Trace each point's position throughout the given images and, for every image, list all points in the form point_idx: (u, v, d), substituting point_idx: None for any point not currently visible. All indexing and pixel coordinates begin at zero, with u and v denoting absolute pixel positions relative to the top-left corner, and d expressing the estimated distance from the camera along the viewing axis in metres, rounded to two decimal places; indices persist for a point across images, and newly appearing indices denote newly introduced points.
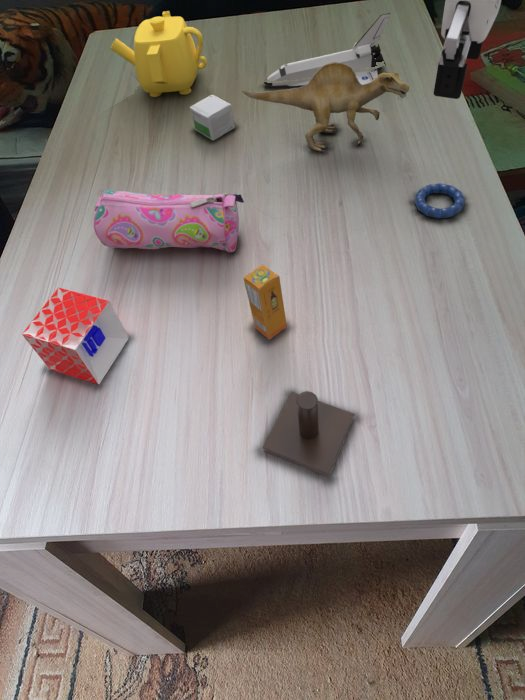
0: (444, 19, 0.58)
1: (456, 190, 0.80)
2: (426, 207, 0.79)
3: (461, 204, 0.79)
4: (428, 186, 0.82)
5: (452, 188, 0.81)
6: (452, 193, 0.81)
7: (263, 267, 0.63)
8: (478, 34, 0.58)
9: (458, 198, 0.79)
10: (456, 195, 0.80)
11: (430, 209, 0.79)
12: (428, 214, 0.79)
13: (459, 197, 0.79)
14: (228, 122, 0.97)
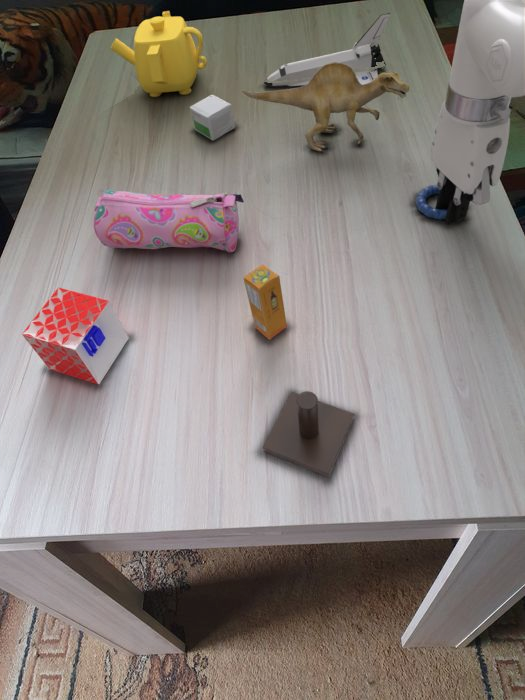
0: (472, 182, 0.68)
1: None
2: (427, 208, 0.79)
3: None
4: (429, 187, 0.81)
5: None
6: None
7: (263, 267, 0.63)
8: (497, 180, 0.70)
9: None
10: None
11: (431, 210, 0.78)
12: (429, 215, 0.79)
13: None
14: (228, 122, 0.97)
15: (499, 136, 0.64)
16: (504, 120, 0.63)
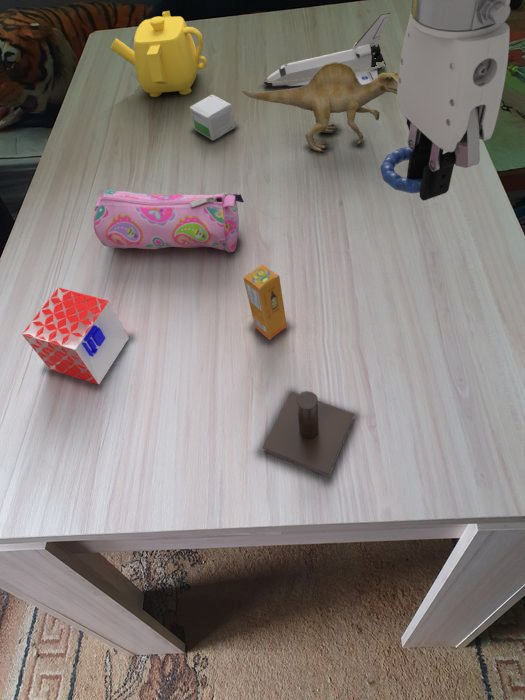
0: (454, 133, 0.46)
1: None
2: (394, 177, 0.56)
3: None
4: (400, 150, 0.59)
5: None
6: None
7: (263, 267, 0.63)
8: (491, 131, 0.47)
9: None
10: None
11: (399, 180, 0.56)
12: (397, 187, 0.56)
13: None
14: (228, 122, 0.97)
15: (493, 56, 0.41)
16: (501, 30, 0.41)
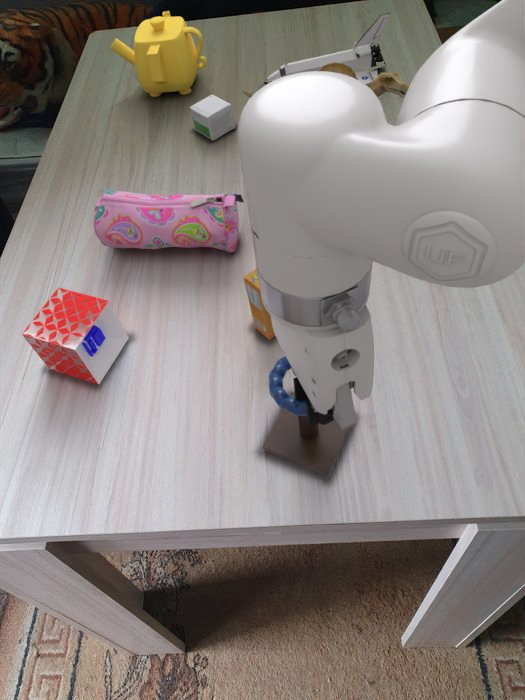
0: (321, 404, 0.39)
1: None
2: (280, 397, 0.50)
3: None
4: None
5: None
6: None
7: None
8: (368, 393, 0.41)
9: None
10: None
11: (285, 401, 0.49)
12: (282, 408, 0.50)
13: None
14: (228, 122, 0.97)
15: (352, 347, 0.35)
16: None
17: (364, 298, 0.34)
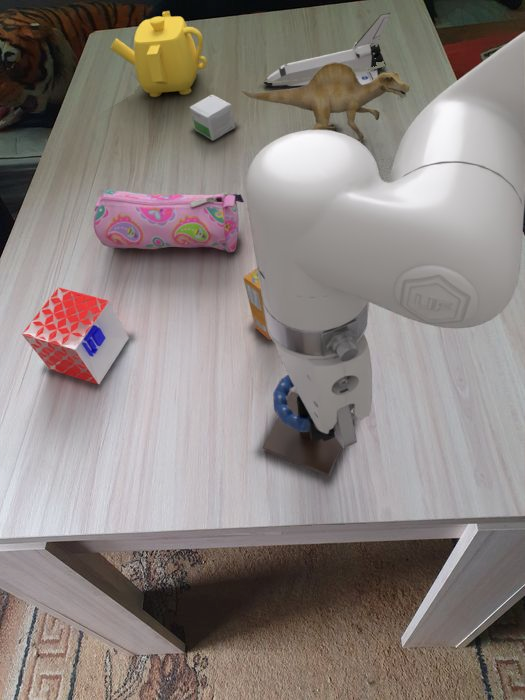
0: (323, 425, 0.42)
1: None
2: (284, 414, 0.52)
3: None
4: None
5: None
6: None
7: None
8: (367, 414, 0.43)
9: None
10: None
11: (289, 418, 0.52)
12: (287, 425, 0.52)
13: None
14: (228, 122, 0.97)
15: (351, 374, 0.38)
16: (357, 350, 0.37)
17: (362, 329, 0.37)
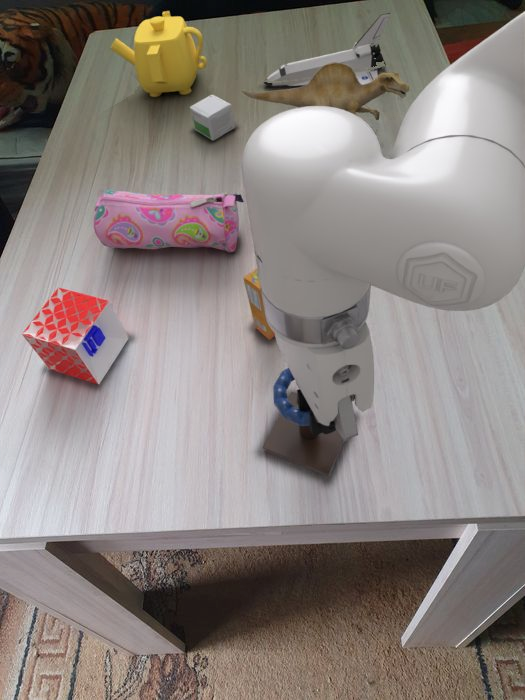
0: (324, 416, 0.41)
1: None
2: (284, 408, 0.51)
3: None
4: None
5: None
6: None
7: None
8: (369, 405, 0.42)
9: None
10: None
11: (289, 412, 0.51)
12: (287, 418, 0.51)
13: None
14: (228, 122, 0.97)
15: (352, 363, 0.36)
16: None
17: (364, 316, 0.36)
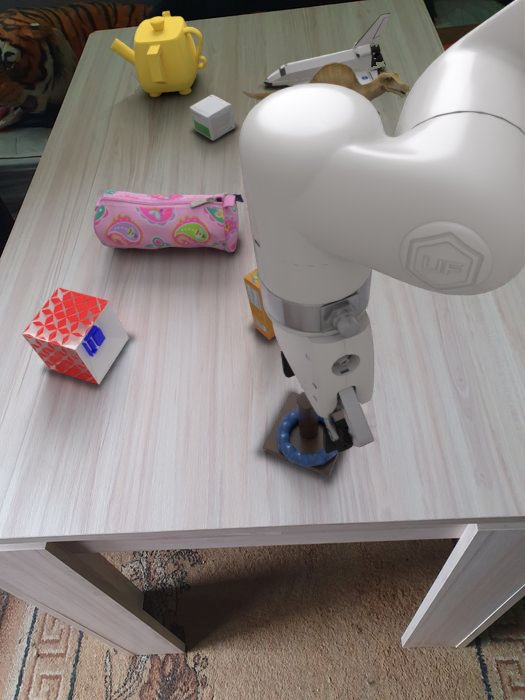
0: (322, 408, 0.40)
1: None
2: (281, 440, 0.58)
3: (324, 457, 0.57)
4: None
5: None
6: None
7: None
8: (369, 397, 0.41)
9: None
10: None
11: (283, 446, 0.58)
12: (280, 450, 0.58)
13: None
14: (228, 122, 0.97)
15: (352, 352, 0.35)
16: None
17: (364, 304, 0.35)
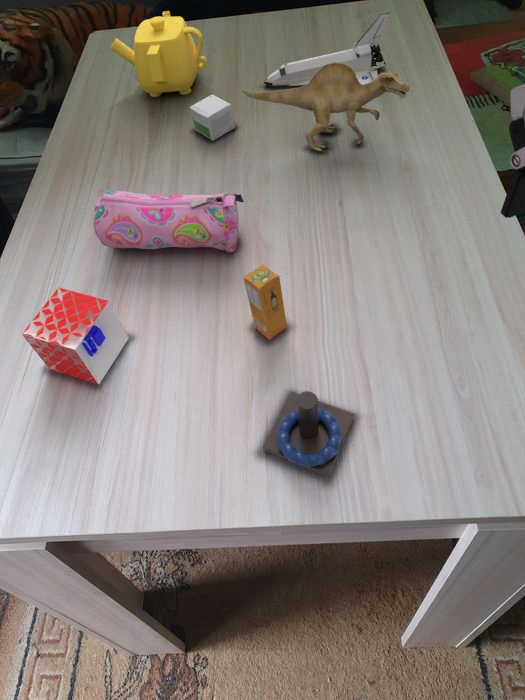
0: None
1: (335, 432, 0.58)
2: (281, 440, 0.58)
3: (324, 457, 0.57)
4: None
5: (332, 427, 0.58)
6: (329, 433, 0.58)
7: (263, 267, 0.63)
8: None
9: (328, 446, 0.57)
10: (330, 440, 0.58)
11: (283, 446, 0.58)
12: (280, 450, 0.58)
13: (330, 445, 0.57)
14: (228, 122, 0.97)
15: None
16: None
17: None
